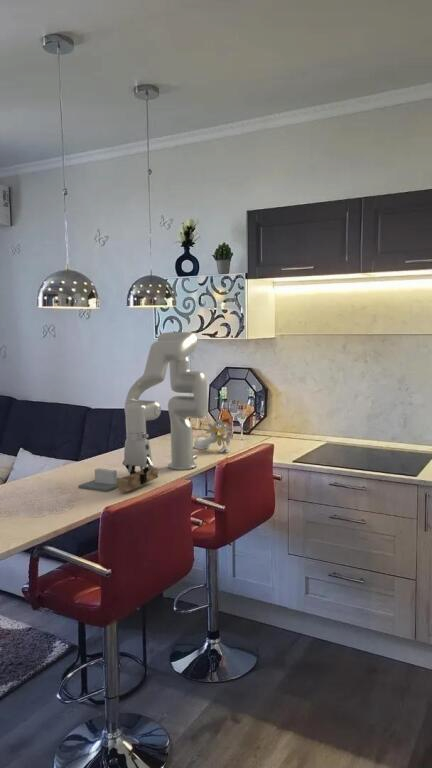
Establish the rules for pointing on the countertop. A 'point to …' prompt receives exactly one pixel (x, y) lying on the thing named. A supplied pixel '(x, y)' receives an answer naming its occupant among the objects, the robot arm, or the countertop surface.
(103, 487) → the slate board
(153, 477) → the walnut bar
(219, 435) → the flower vase
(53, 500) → the countertop surface
